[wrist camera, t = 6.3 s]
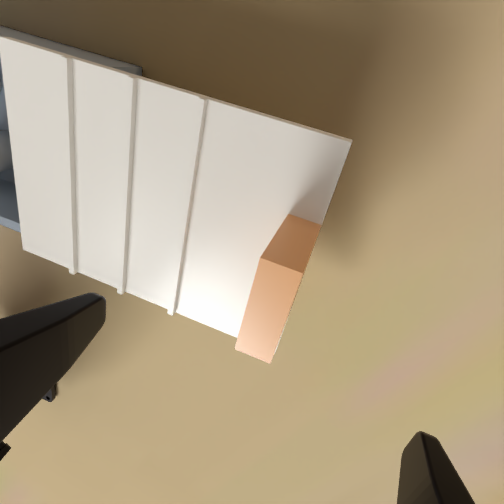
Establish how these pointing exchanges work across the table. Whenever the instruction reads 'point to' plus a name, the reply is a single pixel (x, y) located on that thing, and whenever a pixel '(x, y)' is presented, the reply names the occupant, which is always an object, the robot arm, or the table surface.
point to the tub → (3, 182)
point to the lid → (167, 190)
